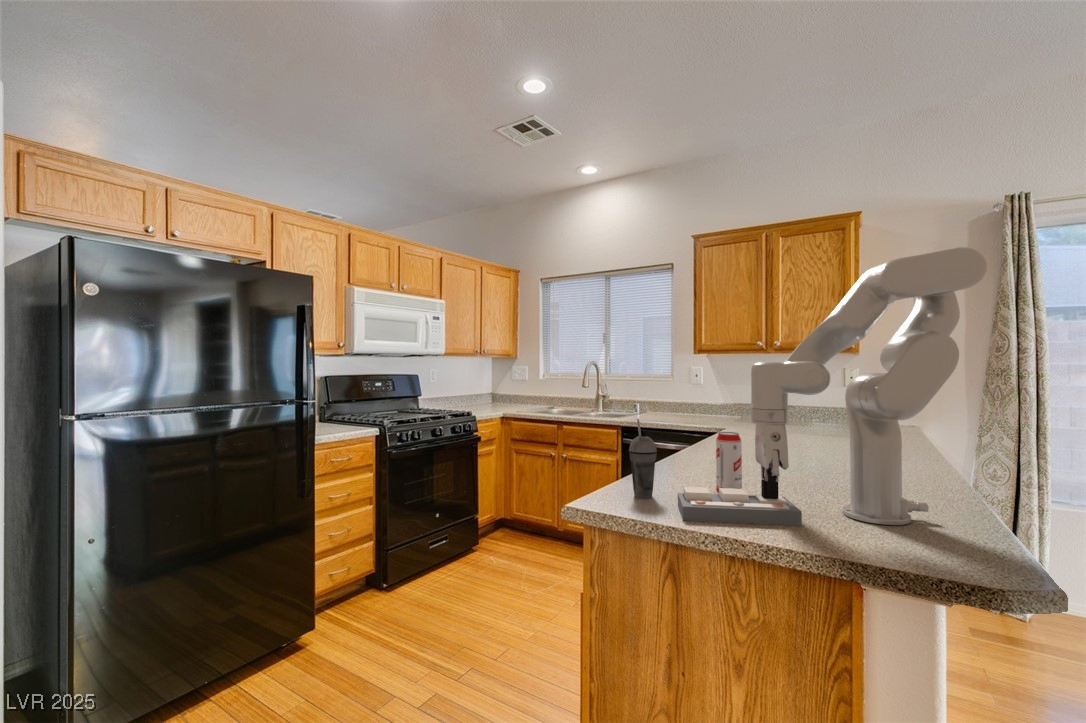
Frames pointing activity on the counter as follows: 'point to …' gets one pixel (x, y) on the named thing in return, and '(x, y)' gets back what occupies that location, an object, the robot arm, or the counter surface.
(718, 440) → the beer can
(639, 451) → the beverage cup
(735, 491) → the middle key
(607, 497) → the counter surface
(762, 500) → the key
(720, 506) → the button board
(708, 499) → the key
